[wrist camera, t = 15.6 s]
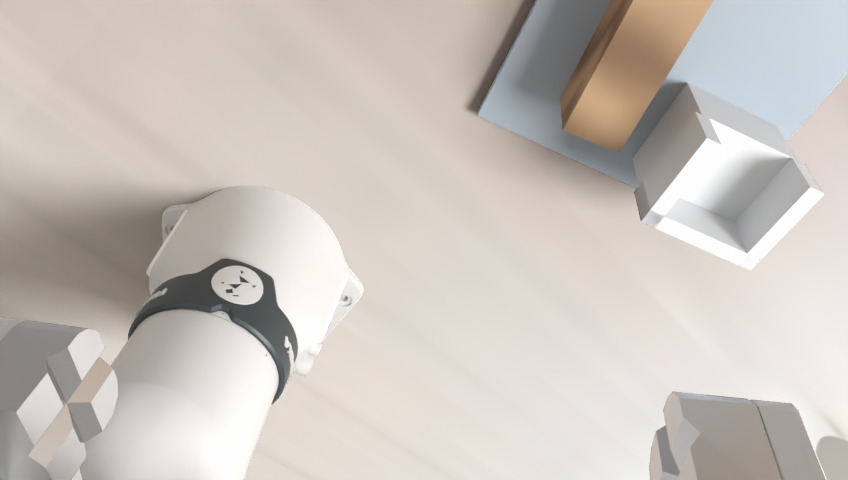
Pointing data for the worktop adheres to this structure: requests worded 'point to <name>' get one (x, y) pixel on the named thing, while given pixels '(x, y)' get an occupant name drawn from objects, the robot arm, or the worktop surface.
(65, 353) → the robot arm
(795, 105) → the grey base with supports
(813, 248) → the worktop surface
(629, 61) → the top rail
